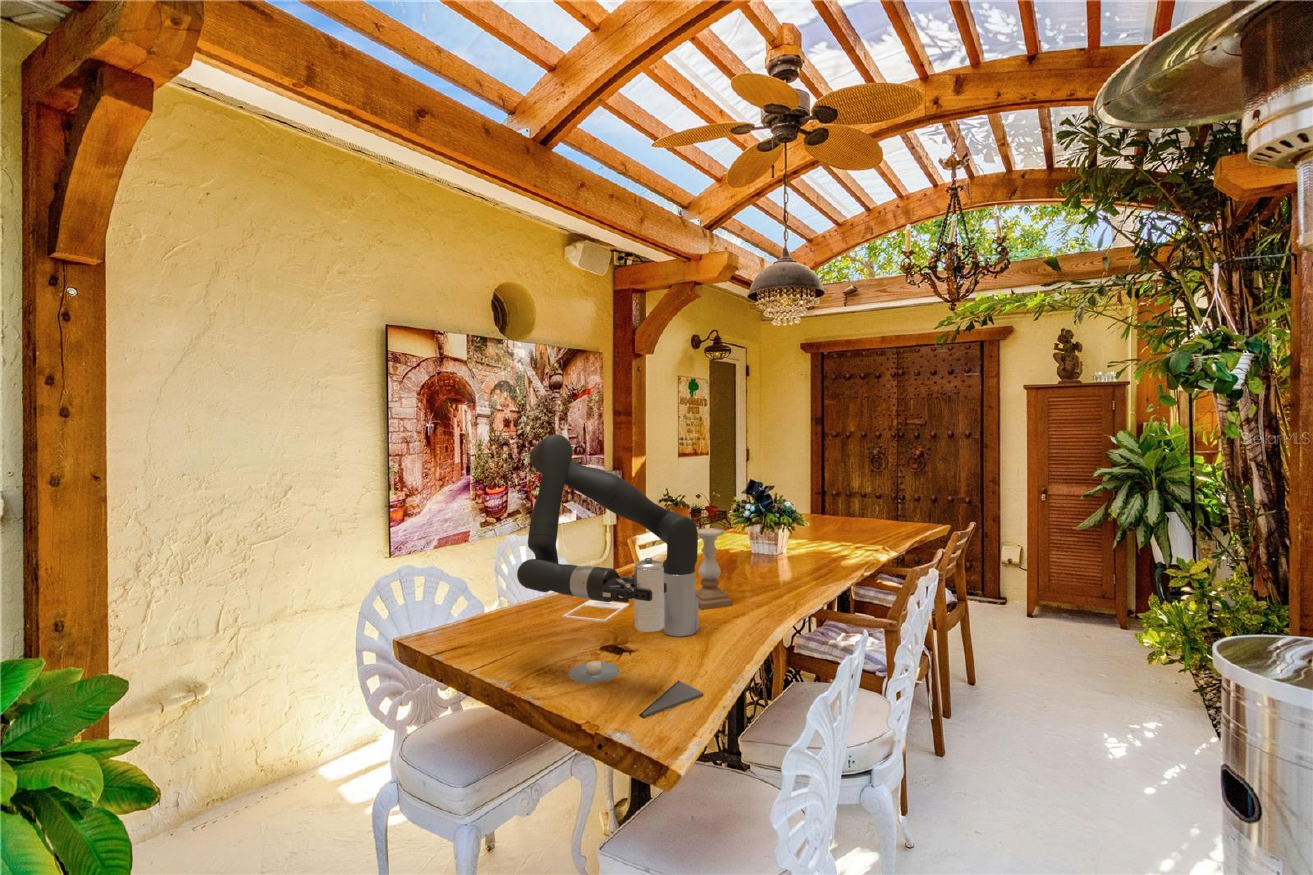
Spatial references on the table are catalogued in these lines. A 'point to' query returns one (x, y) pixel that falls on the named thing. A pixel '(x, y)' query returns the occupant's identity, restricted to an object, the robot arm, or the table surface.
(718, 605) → the candle holder
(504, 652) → the table surface
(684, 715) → the table surface
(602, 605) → the white rectangular frame
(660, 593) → the steel canister
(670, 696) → the rubber mat
